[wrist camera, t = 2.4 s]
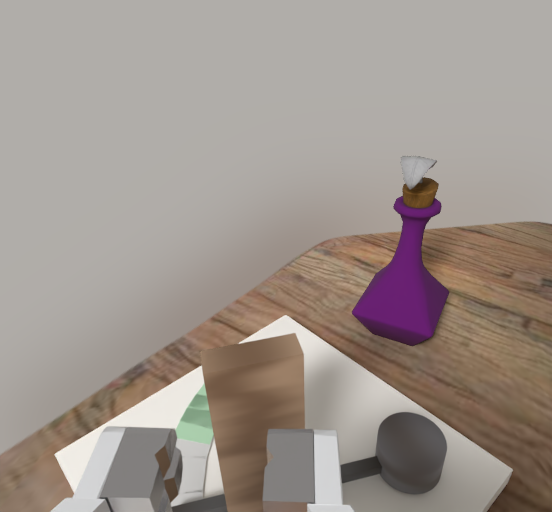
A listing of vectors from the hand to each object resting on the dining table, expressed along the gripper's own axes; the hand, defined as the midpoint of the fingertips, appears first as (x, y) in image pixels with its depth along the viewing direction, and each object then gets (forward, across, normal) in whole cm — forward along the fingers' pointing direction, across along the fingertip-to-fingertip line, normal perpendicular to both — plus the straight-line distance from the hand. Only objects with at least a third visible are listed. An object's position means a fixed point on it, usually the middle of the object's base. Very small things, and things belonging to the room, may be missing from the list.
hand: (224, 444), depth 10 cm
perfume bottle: (+29, -11, +22) cm, 38 cm away
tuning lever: (+11, -2, +20) cm, 23 cm away
